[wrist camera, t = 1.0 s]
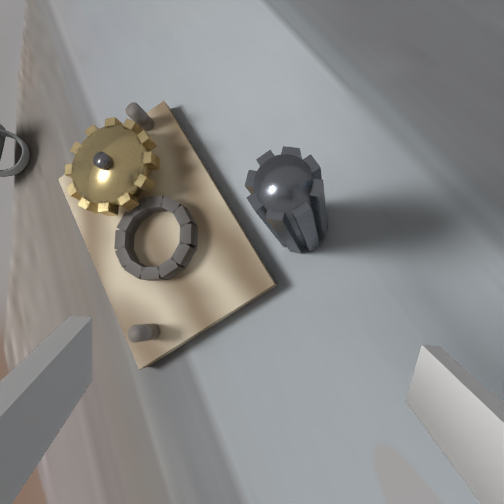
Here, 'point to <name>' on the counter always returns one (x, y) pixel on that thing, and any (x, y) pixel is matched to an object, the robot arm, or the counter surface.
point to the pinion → (289, 198)
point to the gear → (112, 167)
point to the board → (171, 249)
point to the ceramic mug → (22, 163)
